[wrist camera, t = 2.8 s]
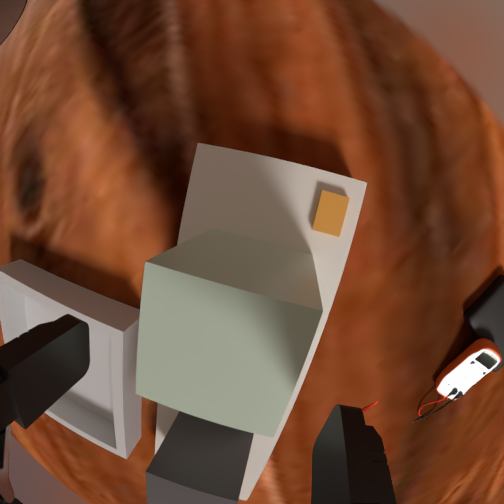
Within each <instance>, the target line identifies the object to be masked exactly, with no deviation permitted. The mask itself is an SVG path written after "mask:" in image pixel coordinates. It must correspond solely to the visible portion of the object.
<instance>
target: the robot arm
mask: <svg viewBox="0 0 504 504" xmlns="http://www.w3.org/2000/svg"><path fill="white" fill-rule="evenodd" d="M25 3H26V0H0V44H1V43H2V42H3V41H4V39H5V38H6V37H7V36H8V34H9V33H10V31H11V30H12V28H13V27H14V25H15V24H16V22H17V20H18V19H19V17H20V15H21V13H22V11H23V9H24V6H25ZM89 365H90V339H89V325H88V323H87V322H85V321H83V320H81V319H78V318H76V317H74V316H72V315H70V314H66V315H64V316H62V317H60V318H58V319H57V320H55V321H51V322H47V323H42V324H39V325H37V326H35V327H33V328H32V329H30V330H28V332H25V333H23V334H21V335H19V338H18V337H16V338H14V339H13V340H11V341H9V342H7V343H6V344H4V345H2V346H1V347H0V504H23V503H21V502H20V501H19V500H18V499H16V498H15V496H14V491H13V488H12V486H11V483H10V478H9V454H10V437H11V427H10V424H11V423H12V422H13V421H16V422H17V423H18V424H19V425H21V426H22V427H23V428H24V429H27V428H28V427H29V426H30V425H31V424H32V423H33V422H34V421H35V420H36V419H37V418H39V417H40V416H41V415H42V414H43V413H44V412H45V411H46V410H47V409H48V408H50V407H51V406H52V405H53V404H54V403H55V402H56V401H57V400H58V399H59V398H61V397H62V396H63V395H64V394H65V393H66V392H67V391H68V390H69V389H70V388H72V387H73V386H74V385H75V384H76V383H77V382H78V381H79V380H81V379H82V378H83V377H84V376H85V374H86V373H87V371H88V369H89ZM384 452H385V450H384V446H383V442H382V438H381V437H380V435H379V434H378V433H377V431H376V430H375V429H374V427H373V426H368V425H365V420H364V416H363V412H362V409H361V408H357V407H350V406H345V405H339V404H337V405H336V406H335V407H334V408H333V410H332V412H331V413H330V415H329V417H328V419H327V421H326V423H325V425H324V426H323V428H322V430H321V432H320V433H319V435H318V437H317V439H316V442H315V444H314V448H313V454H312V497H311V504H396V499H395V494H394V490H393V485H392V480H391V476H390V471H389V467H388V465H387V458H386V454H384Z"/></svg>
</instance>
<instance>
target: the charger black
mask: <svg viewBox="0 0 504 504" xmlns="http://www.w3.org/2000/svg"><path fill="white" fill-rule="evenodd" d="M253 436H254V433H251V432H247V431H243V430H239V429H235V428H232V427H228V426H225V425H221V424H218V423H215V422H211V421H208V420H205V419H202V418H199V417H196V416H193V415H190V414H187V413H184V412H181V411H179V413H178V415H177V417H176V418H175V420H174V422H173V424H172V426H171V427H170V429H169V431H168V433H167V435H166V437H165V438H164V440H163V442H162V444H161V445H160V447H159V449H158V451H157V453H156V454H155V456H154V458H153V460H152V462H151V463H150V465H149V467H148V469H147V470H146V490H147V504H237V502H238V499H239V495H240V491H241V487H242V483H243V479H244V475H245V470H246V466H247V462H248V458H249V453H250V449H251V444H252V440H253Z"/></svg>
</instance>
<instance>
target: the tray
mask: <svg viewBox="0 0 504 504" xmlns="http://www.w3.org/2000/svg"><path fill="white" fill-rule="evenodd" d="M66 314H70V315H72V316H74V317H76V318H78V319H81V320H83V321H85V322H87V323H88V325H89V339H90V365H89V369H88V371H87V373H86V374H85V376H84V377H83V378H82V379H81V380H79V381H78V382H77V383H76V384H75V385H74V386H73V387H72V388H70V389H69V390H68V391H67V392H66V393H65V394H64V395H63V396H62V397H61V398H59V399H58V400H57V401H56V402H55V403H54V404H53V405H52V406H51V407H50V408H48V409H47V410H46V411H45V412H44V413H46V414H47V415H49V416H50V417H52V418H53V419H55V420H56V421H58V422H59V423H61V424H63V425H64V426H66V427H67V428H69V429H71V430H72V431H74V432H76V433H77V434H79V435H81V436H83V437H84V438H86V439H88V440H90V441H92V442H93V443H95V444H97V445H99V446H101V447H103V448H105V449H107V450H109V451H111V452H113V453H115V454H117V455H119V456H121V457H123V458H125V459H127V458H128V456H129V455H130V453H131V452H132V450H133V449H134V447H135V446H136V444H137V442H138V441H139V439H140V438H141V399H142V396H140V395H138V394H136V366H137V345H138V330H139V317H140V309H137V308H135V307H132V306H129V305H127V304H124V303H121V302H119V301H116V300H114V299H111V298H108V297H106V296H103V295H101V294H98V293H96V292H94V291H91V290H89V289H86V288H84V287H82V286H79V285H77V284H74V283H72V282H70V281H68V280H65V279H63V278H61V277H58V276H56V275H54V274H52V273H50V272H47V271H45V270H43V269H41V268H39V267H37V266H35V265H32V264H30V263H28V262H26V261H24V260H22V259H19V260H16V261H13V262H10V263H7V264H4V265H2V266H0V320H1V326H2V332H3V338H4V343H5V344H6V343H7V342H9V341H11V340H13V339H14V338H16V337H18V338H19V335H21V334H23V333H25V332H28V330H30V329H32V328H33V327H35V326H37V325H39V324H42V323H47V322H51V321H55V320H57V319H58V318H60V317H62V316H64V315H66Z"/></svg>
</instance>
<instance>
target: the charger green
mask: <svg viewBox="0 0 504 504" xmlns="http://www.w3.org/2000/svg"><path fill="white" fill-rule="evenodd" d="M322 313H323V307H322V301H321V296H320V290H319V285H318V280H317V274H316V269H315V264H314V259H313V254H309V253H305V252H301V251H298V250H294V249H290V248H286V247H282V246H279V245H275V244H271V243H267V242H263V241H259V240H255V239H252V238H248V237H244V236H240V235H236V234H232V233H228V232H224V231H220V230H216V229H210V230H208V231H206V232H204V233H202V234H200V235H198V236H196V237H194V238H192V239H190V240H188V241H185V242H183V243H181V244H179V245H177V246H175V247H173V248H171V249H169V250H167V251H165V252H163V253H161V254H159V255H157V256H155V257H153V258H151V259H149V260H147V261H145V268H144V276H143V285H142V295H141V305H140V317H139V330H138V345H137V366H136V394H138V395H140V396H142V397H145V398H147V399H150V400H152V401H155V402H157V403H160V404H162V405H165V406H168V407H170V408H173V409H176V410H178V411H181V412H184V413H187V414H190V415H193V416H196V417H199V418H202V419H205V420H208V421H211V422H215V423H218V424H221V425H225V426H228V427H232V428H235V429H239V430H243V431H247V432H251V433H255V434H259V435H263V436H267V437H272V438H273V437H274V435H275V433H276V431H277V429H278V426H279V424H280V422H281V419H282V417H283V415H284V412H285V410H286V408H287V405H288V403H289V401H290V398H291V396H292V393H293V391H294V388H295V386H296V383H297V381H298V378H299V376H300V373H301V371H302V368H303V366H304V363H305V360H306V358H307V355H308V352H309V350H310V347H311V344H312V342H313V339H314V336H315V333H316V330H317V328H318V325H319V322H320V319H321V316H322Z"/></svg>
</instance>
